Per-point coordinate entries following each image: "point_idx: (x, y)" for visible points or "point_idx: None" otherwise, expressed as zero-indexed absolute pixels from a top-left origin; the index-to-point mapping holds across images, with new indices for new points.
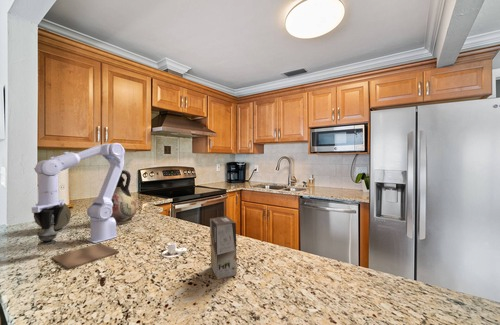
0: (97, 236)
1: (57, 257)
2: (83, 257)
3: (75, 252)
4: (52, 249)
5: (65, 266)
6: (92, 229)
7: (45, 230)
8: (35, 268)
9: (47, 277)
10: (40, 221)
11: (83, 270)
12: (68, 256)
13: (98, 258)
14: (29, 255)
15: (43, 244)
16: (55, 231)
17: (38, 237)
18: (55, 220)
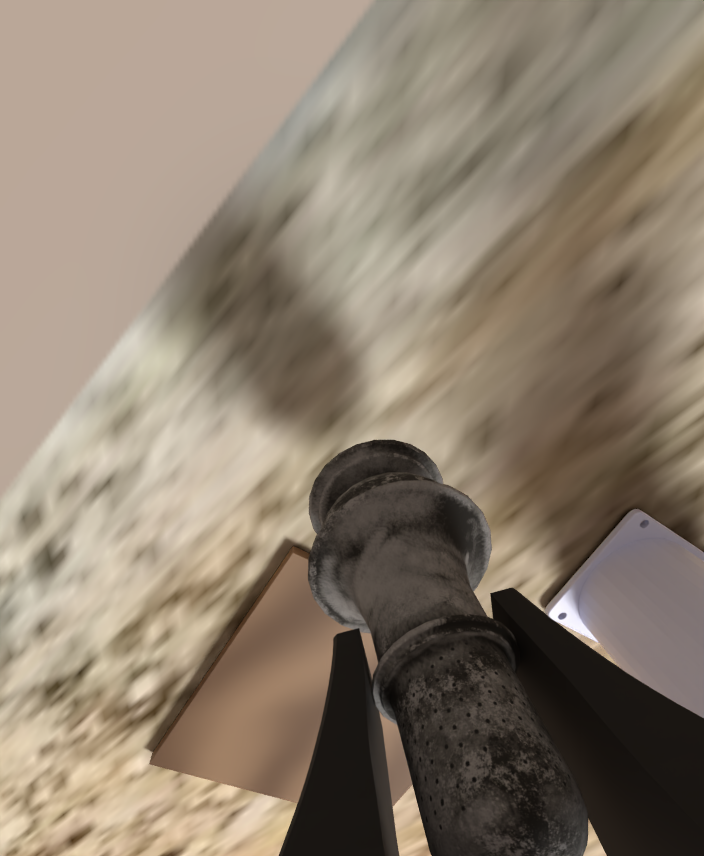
0: (600, 635)
1: (281, 599)
2: (288, 733)
3: (366, 636)
4: (464, 399)
5: (170, 731)
6: (652, 652)
7: (364, 619)
8: (138, 580)
9: (55, 731)
10: (320, 762)
11: (158, 812)
12: (300, 647)
13: (285, 796)
14: (345, 319)
15: (320, 523)
16: (480, 572)
17: (333, 507)
18: (540, 715)
